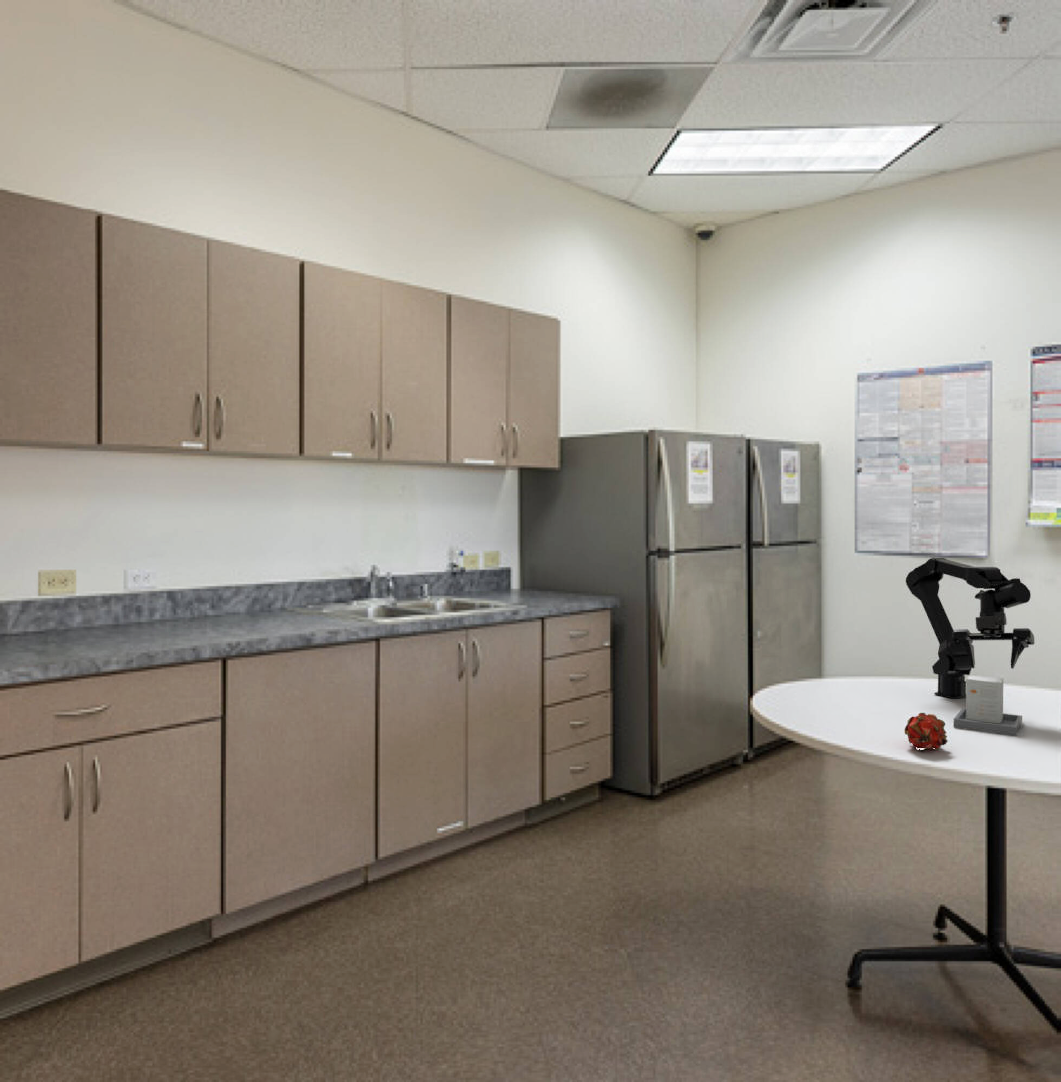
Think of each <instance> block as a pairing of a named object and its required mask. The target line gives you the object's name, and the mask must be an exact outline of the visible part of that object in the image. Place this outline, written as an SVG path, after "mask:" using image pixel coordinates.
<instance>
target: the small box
mask: <svg viewBox="0 0 1061 1082" xmlns="http://www.w3.org/2000/svg"><path fill="white" fill-rule="evenodd" d="M965 681H966V697H965V709H966V720H973V721H982V722H990V723H998V724H1001V722H1002V720H1003V713H1004V678H998V677H989V676H979V675H968V677H967V678H966V679H965Z"/></svg>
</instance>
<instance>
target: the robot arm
mask: <svg viewBox="0 0 1061 1082" xmlns="http://www.w3.org/2000/svg"><path fill="white" fill-rule="evenodd" d="M944 575H947V576H950V577H953V578H957V579H960V580H962V581H963V580H964V581H965V582H966V584H967V585H969V586H971V587H973V588H975V589H980V590H979V592H977V593H976V594H975V596H974V599H975V600H979V602H980V603H979V604H980V605H979V606H980V607H979V608H980V609H979V610H980V612H979V616H975V629H976V630H977V631H978V633H977V632H976V633H975V632H972V633H971V632H970V630H969V629H968V628H967V629H965V628H964V629H954V628H953V626H952V624H951V621H950V619H949V617H948V614H947V613H946V610H945V608H944V605H943V604H942V602H941V599H940V596H939V592H940V584H939V582H940V581H941V580H942V579H944ZM905 584H906V586H907V588H908V590H909V592H910V593H911V594H912V595H913V596H914V597H915V598H917V600H919V601H920V602H921V605H922V607H923V609H924V611H925V614H926V617H927V619H928V620H929V623H930V625H931V627H932V629H933V632H934V635H935V636H936V640H937V641H938V645H939V647H938V650H937V651H938V652H937V655H938V659H937V661H935V663H934V664H933V665H932V671H933V674H935V675H937V692H933V693H934V695H935V696H940V697H941V696H942V697H946V698H951V699H955V700H956V699H960V698H964V697H965V698H966V679H965V678H966V676H971V672H972V669H975V666H976V660H975V647H974V645H973V641H1011V656H1010V669H1012V670H1013V669H1014V668H1015V666H1016V665H1017V662H1018V659H1019V658H1020V656H1021V654H1022V653H1023V652H1024V650H1025V649H1026V648H1027V649H1028V648H1029V647H1030V646H1032V645H1033V646H1034V645H1035V635H1034V633H1033V632H1032V630H1031V629H1030V628H1027V627H1026V628H1025V627H1024V628H1022V627H1021V628H1013V630H1012V632H1005V626H1007V623H1008V621H1007V616H1006V612H1005V609H1010V608H1014V607H1017V606H1019V605H1023V604H1026V603H1028V602H1029V601H1030V600H1031V596H1032V594H1031V590H1030V589H1029V587H1027V585H1026V584H1024V583H1022V581H1021V579H1020V578H1019V577H1018V578H1017V577H1016V578H1011V579H1008V578H1007V576H1005V575H1004V574H1003V573H1002V572H1001V569H1000V568H998V567H997V566H973V565H969V564H966V563H962V562H957V561H954V560H950V559H947V558H945V557H931V558H929V559H928V560H927V561H926V562H925V563H923V564H921V565H918V566H916V567H915V568H914V569H913V570H912V571H909V573H908V574H907V576H906V578H905ZM982 589H983V590H982Z"/></svg>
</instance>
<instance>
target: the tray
mask: <svg viewBox="0 0 1061 1082" xmlns="http://www.w3.org/2000/svg"><path fill="white" fill-rule="evenodd" d="M1022 725H1023V715H1021V714H1013V713H1004V712H1003V720H1002V722H1001V724H998V723H990V722H982V721H973V720H966V707H964V708H961V709H960V711H959V712H958V713H957V714H956V716H954V718H953V728H957V727H960V728H959V729H964V728H966V730H973V731H979V730H980V732H986V731H987V732H988V733H993V732H995V734H1002V735H1010V736H1018V733H1019V732H1020V729H1021V728H1022Z"/></svg>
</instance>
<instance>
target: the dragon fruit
mask: <svg viewBox="0 0 1061 1082" xmlns="http://www.w3.org/2000/svg"><path fill="white" fill-rule="evenodd" d="M945 726H946V722H945V721H944V720H942V719H940V718H938V717H937V715H935V714H933V713H929V714H927V713H926V712H920V713H918V714H917V715H916V716H911V717H910V718H908V720H907V723H906V725H905V727H904V734H905V735H907V740H908V743H909V744H911V743H912V744H911V745H912V747H914V748H915V747H917V748H926V749H925V750H927V749H928V750H933V749H932V748H935V749H937V750H939V749H940V748H941V747H942V746H945V745H947V743H948V741H949V740H948V739H947V737H948V736H947V735H946V734H947V731H946V730H945ZM919 750H920V749H919Z"/></svg>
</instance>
